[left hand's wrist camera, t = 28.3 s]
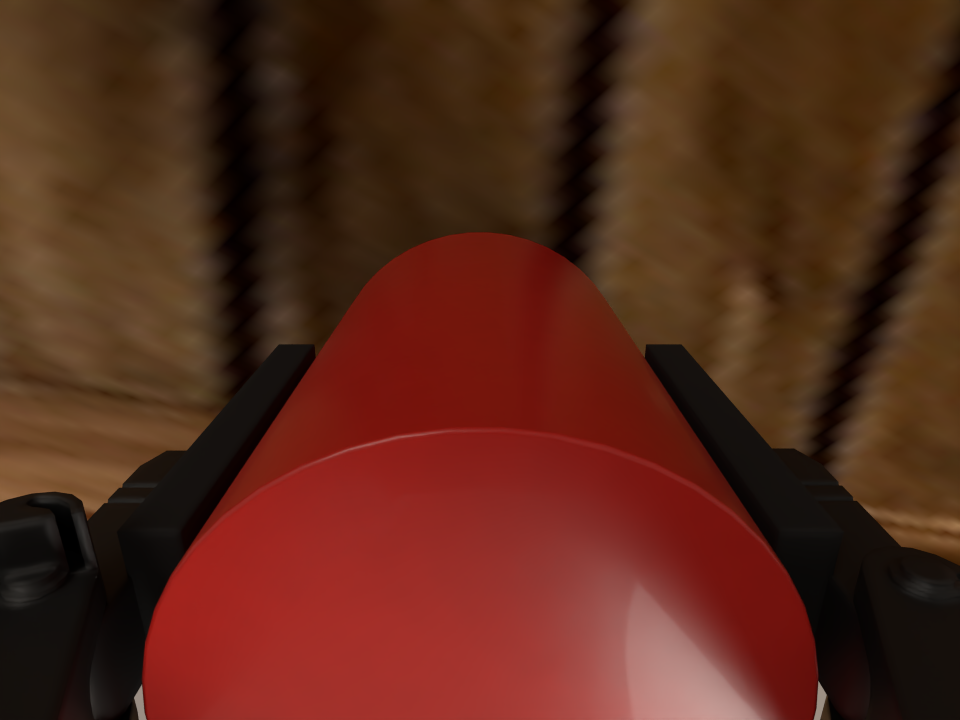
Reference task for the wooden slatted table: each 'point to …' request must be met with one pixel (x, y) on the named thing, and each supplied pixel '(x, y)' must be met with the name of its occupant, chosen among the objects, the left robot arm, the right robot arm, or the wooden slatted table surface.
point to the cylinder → (480, 527)
